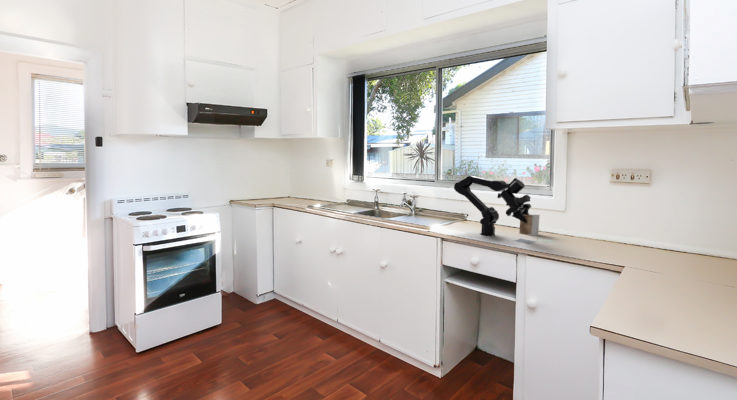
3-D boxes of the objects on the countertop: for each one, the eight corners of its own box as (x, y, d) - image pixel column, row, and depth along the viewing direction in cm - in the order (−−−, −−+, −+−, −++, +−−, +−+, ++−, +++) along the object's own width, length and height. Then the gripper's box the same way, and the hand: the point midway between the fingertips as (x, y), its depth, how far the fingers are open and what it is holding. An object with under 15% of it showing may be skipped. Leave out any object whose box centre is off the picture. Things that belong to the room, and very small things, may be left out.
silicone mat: (512, 240, 217) (512, 240, 217) (520, 238, 223) (520, 238, 223) (529, 243, 211) (529, 243, 211) (536, 241, 217) (536, 241, 217)
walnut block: (519, 233, 217) (520, 215, 215) (523, 232, 220) (524, 214, 219) (527, 234, 213) (528, 216, 212) (531, 233, 216) (532, 215, 215)
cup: (535, 233, 241) (537, 213, 240) (540, 235, 233) (541, 215, 232) (521, 232, 242) (522, 212, 240) (525, 235, 234) (526, 214, 232)
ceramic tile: (536, 241, 217) (536, 241, 217) (538, 238, 224) (538, 238, 224) (552, 243, 214) (552, 243, 214) (553, 240, 221) (553, 240, 221)
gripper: (512, 190, 210) (531, 214, 204) (529, 189, 223) (547, 211, 216) (497, 204, 217) (516, 227, 210) (514, 201, 230) (532, 223, 223)
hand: (528, 222), depth 215 cm, fingers closed on walnut block, 4 cm apart
